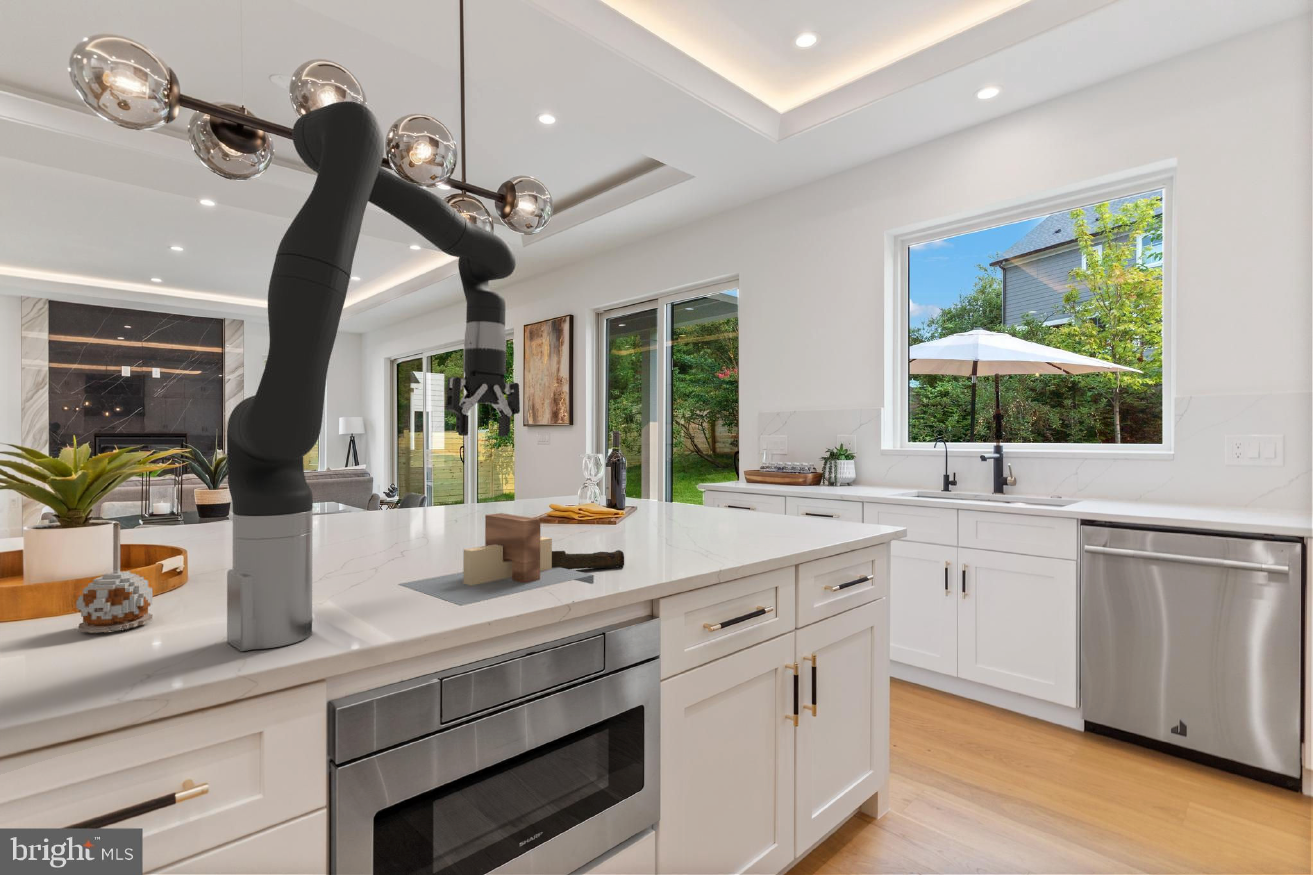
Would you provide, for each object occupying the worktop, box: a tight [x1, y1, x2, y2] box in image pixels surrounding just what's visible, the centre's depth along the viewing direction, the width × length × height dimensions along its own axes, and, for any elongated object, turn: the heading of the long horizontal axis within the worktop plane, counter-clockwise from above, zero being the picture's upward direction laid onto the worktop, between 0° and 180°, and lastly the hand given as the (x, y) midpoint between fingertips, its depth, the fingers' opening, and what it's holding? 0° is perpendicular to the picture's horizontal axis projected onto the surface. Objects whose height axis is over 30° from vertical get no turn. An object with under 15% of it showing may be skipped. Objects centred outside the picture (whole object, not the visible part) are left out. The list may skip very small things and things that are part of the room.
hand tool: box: [552, 549, 625, 570], centre depth 128 cm, size 19×4×5 cm, turn 116°
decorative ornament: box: [75, 521, 153, 634], centre depth 89 cm, size 8×8×15 cm
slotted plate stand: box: [398, 536, 595, 606], centre depth 113 cm, size 28×20×8 cm
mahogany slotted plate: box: [484, 512, 541, 583], centre depth 115 cm, size 4×12×11 cm, turn 49°
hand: (483, 436), depth 116 cm, fingers open, 8 cm apart
